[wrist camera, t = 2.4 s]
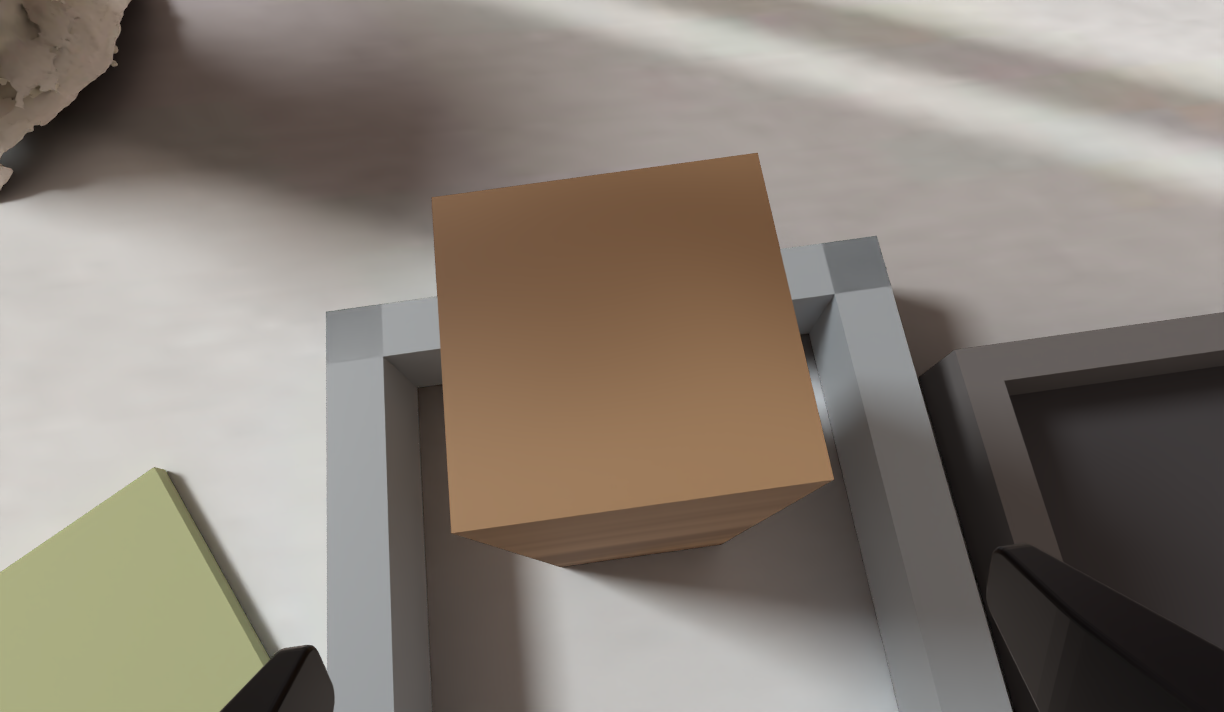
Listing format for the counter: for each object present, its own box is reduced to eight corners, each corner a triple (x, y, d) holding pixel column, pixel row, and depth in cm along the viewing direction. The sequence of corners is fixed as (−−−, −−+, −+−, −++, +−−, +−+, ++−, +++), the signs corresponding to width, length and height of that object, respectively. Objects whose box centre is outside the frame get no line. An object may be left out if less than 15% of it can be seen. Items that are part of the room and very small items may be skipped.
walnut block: (720, 544, 20) (833, 479, 8) (560, 566, 20) (450, 533, 8) (693, 390, 21) (758, 153, 10) (544, 410, 21) (431, 197, 10)
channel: (1032, 991, 16) (1116, 1076, 13) (384, 1085, 16) (329, 1192, 13) (846, 281, 22) (876, 235, 19) (367, 348, 22) (326, 311, 19)
